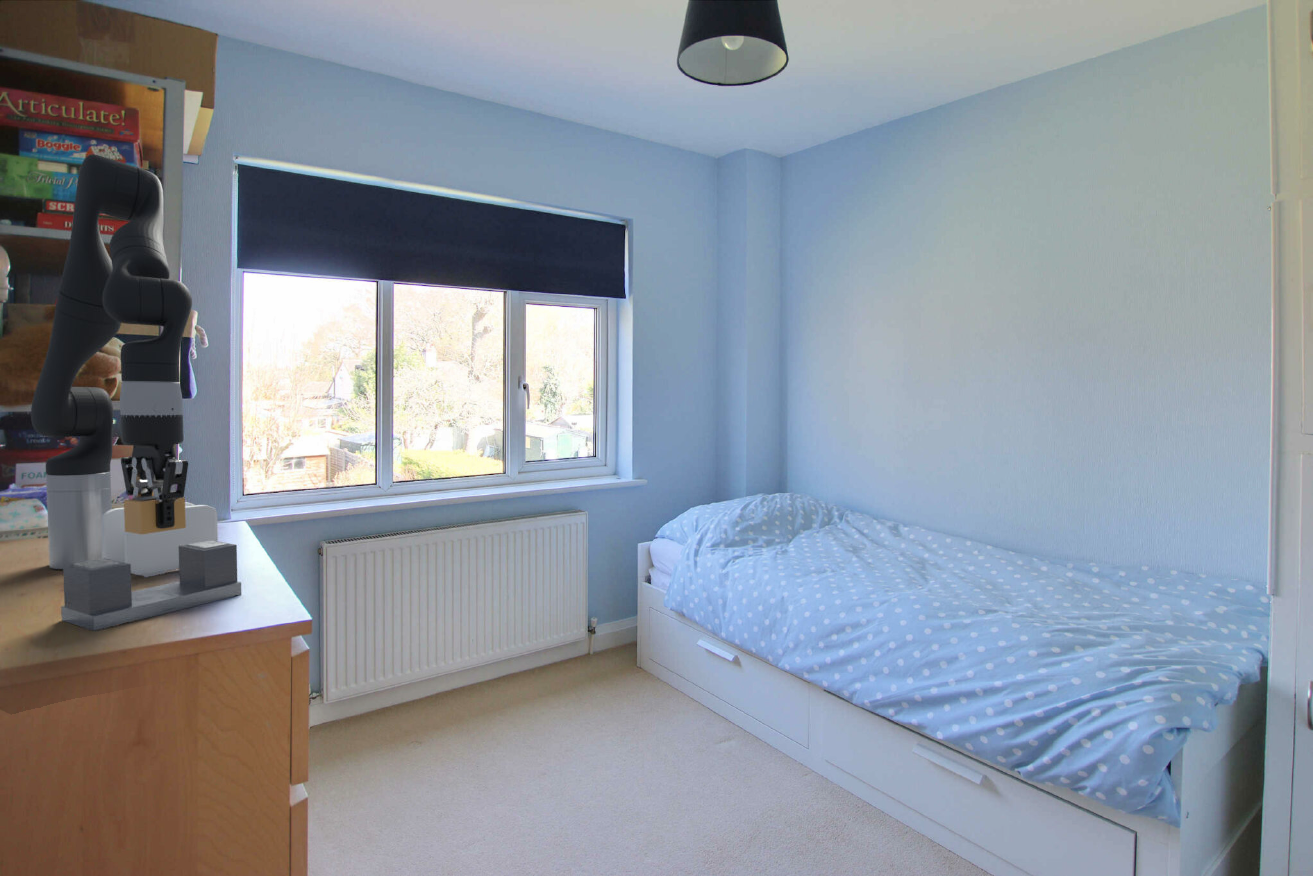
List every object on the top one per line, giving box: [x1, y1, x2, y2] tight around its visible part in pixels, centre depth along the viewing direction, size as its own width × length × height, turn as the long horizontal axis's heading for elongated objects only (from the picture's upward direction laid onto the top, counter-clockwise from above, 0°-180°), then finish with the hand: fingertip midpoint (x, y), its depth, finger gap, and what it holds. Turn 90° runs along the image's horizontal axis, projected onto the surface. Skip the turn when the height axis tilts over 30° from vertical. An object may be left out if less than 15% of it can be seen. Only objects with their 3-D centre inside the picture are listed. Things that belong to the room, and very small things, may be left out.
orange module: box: [123, 495, 186, 535], centre depth 103 cm, size 6×4×5 cm
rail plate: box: [60, 540, 242, 632], centre depth 103 cm, size 9×20×8 cm, turn 153°
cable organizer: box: [101, 501, 219, 578], centre depth 126 cm, size 15×11×12 cm
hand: (155, 525), depth 103 cm, fingers closed on orange module, 4 cm apart
